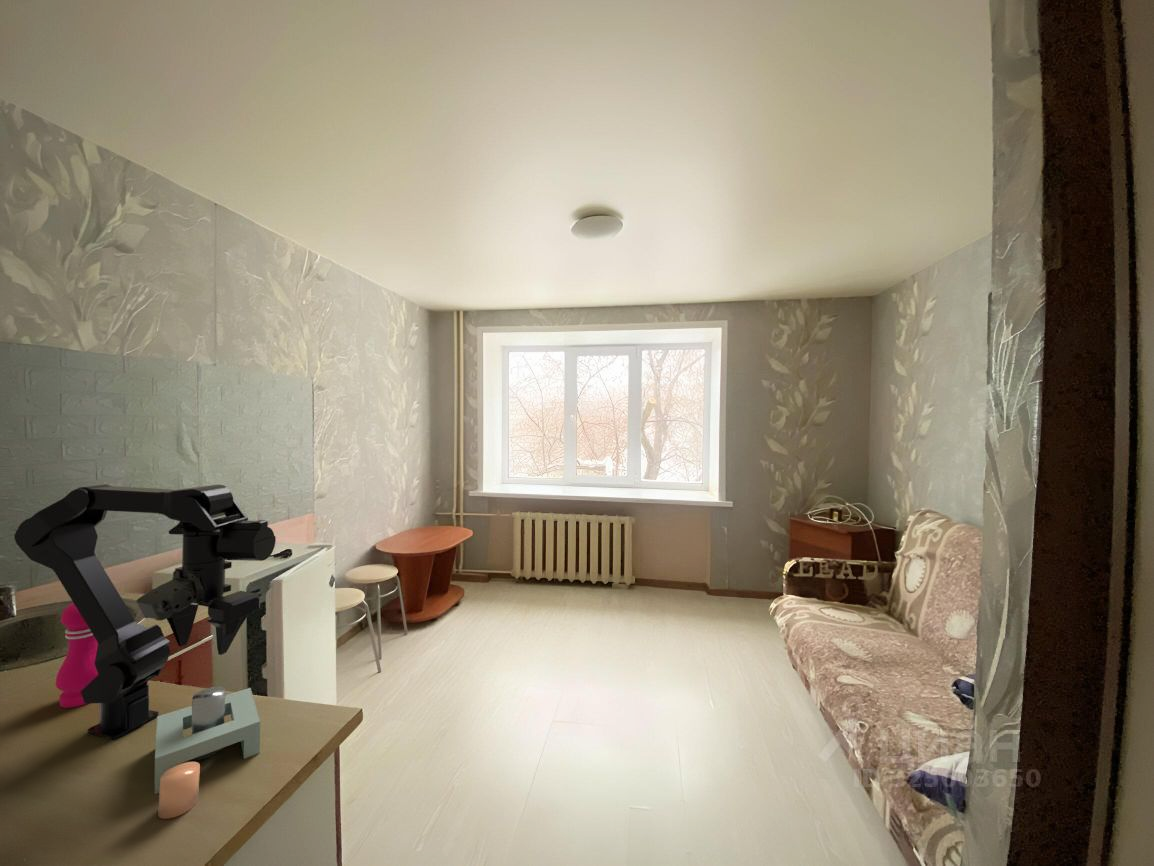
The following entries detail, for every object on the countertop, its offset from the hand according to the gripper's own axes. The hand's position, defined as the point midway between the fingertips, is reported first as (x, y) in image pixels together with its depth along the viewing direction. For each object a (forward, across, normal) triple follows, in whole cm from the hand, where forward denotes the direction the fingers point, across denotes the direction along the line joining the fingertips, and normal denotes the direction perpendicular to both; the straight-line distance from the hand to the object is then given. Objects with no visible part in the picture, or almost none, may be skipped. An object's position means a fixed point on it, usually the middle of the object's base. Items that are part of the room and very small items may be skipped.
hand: (202, 649), depth 76 cm
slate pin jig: (+13, +8, -4) cm, 16 cm away
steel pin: (+13, +8, -4) cm, 16 cm away
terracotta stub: (+13, +15, -13) cm, 24 cm away
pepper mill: (+13, -28, -1) cm, 31 cm away
